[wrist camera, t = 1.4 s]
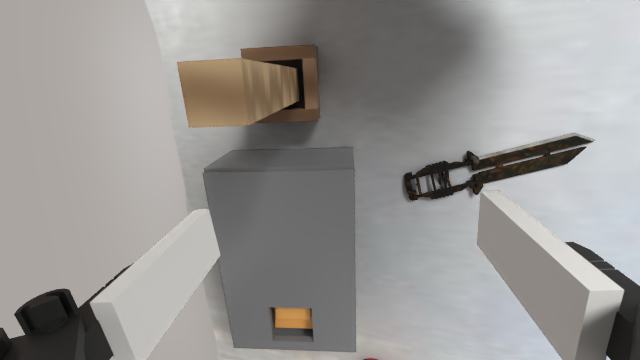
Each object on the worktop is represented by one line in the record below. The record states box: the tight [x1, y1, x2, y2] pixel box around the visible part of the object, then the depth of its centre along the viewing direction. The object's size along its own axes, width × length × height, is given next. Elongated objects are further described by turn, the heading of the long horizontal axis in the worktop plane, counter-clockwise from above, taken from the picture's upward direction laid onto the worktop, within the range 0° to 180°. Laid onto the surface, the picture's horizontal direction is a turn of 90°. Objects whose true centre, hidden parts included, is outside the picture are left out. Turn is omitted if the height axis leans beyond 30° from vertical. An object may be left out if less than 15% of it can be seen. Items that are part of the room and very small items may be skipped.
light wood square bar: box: [177, 58, 301, 128], centre depth 30 cm, size 4×4×24 cm
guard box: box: [203, 147, 356, 352], centre depth 44 cm, size 28×18×10 cm, turn 3°
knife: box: [404, 133, 595, 201], centre depth 43 cm, size 25×6×1 cm, turn 102°
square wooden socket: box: [241, 44, 320, 123], centre depth 40 cm, size 9×9×4 cm
